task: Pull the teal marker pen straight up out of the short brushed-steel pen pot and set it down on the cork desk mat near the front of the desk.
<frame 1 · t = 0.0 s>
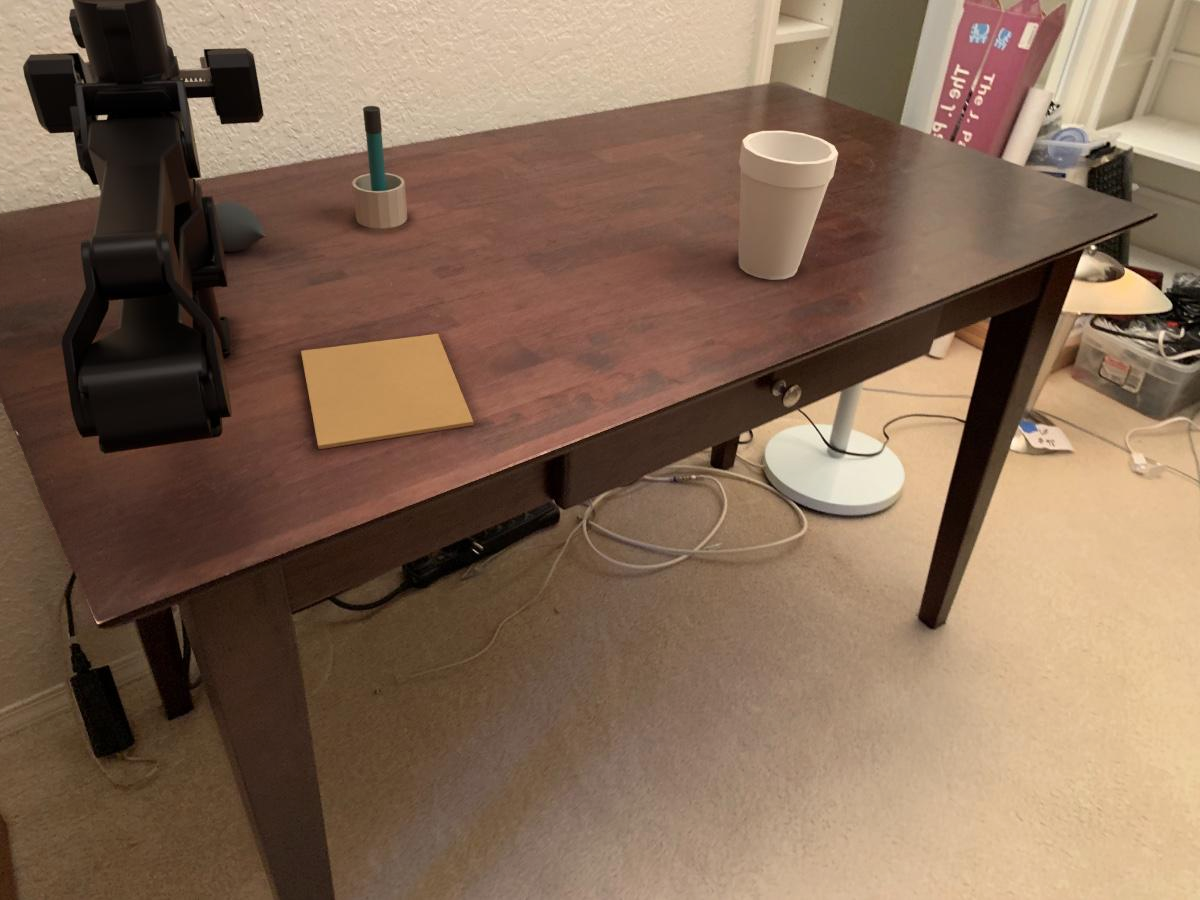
hand: (152, 64, 89), 17 cm above the table, tool horizontal, fingers open, 9 cm apart
foam cup: (767, 267, 99), on the table
pen: (381, 217, 102), resting on pot
dark grey fabric pouch: (190, 243, 96), on the table
pot: (382, 221, 102), on the table
desk mat: (383, 388, 76), on the table
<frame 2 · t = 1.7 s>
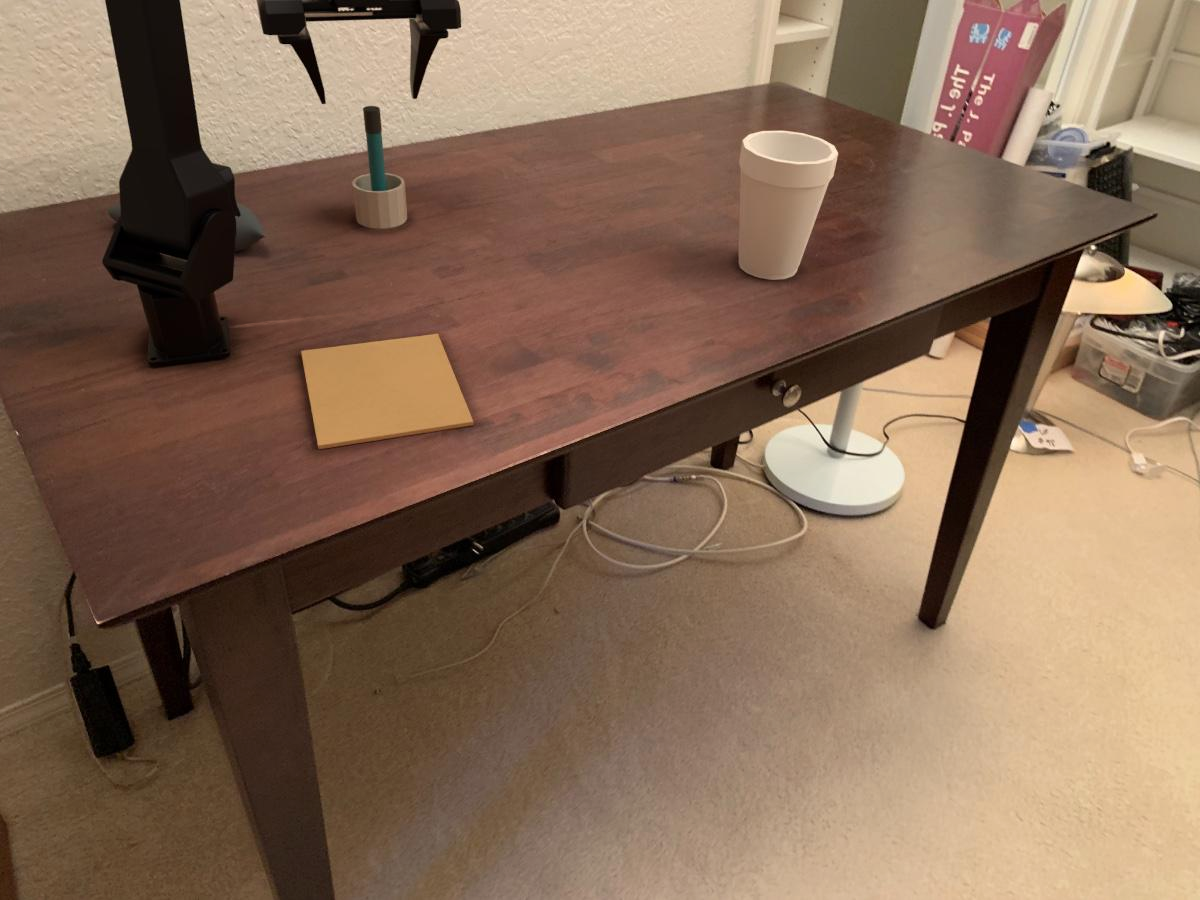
hand: (369, 100, 94), 13 cm above the table, tool pointing down, fingers open, 9 cm apart
nothing on the table moved.
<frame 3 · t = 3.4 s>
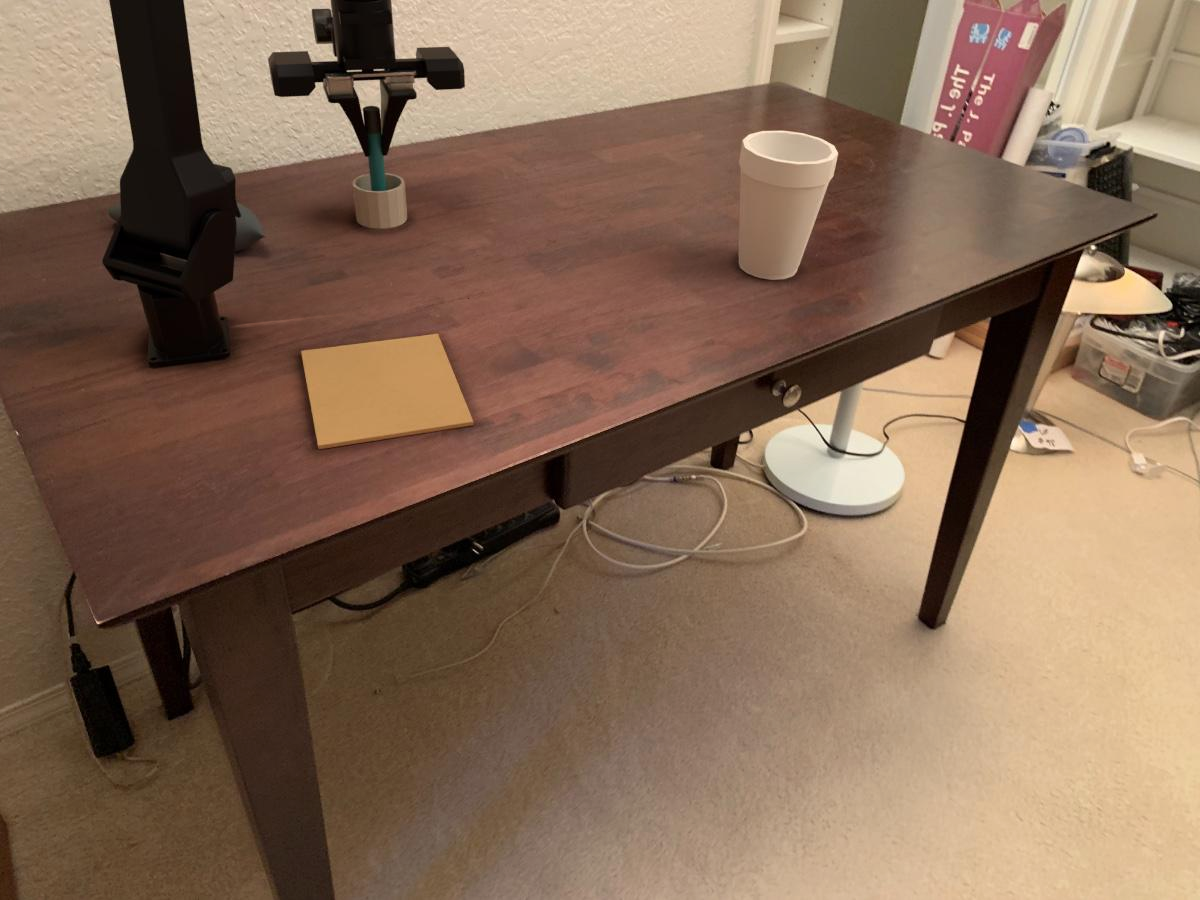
hand: (375, 154, 97), 8 cm above the table, tool pointing down, fingers closed on pen, 1 cm apart
pen: (381, 217, 102), resting on pot, touching gripper
everything else where it was.
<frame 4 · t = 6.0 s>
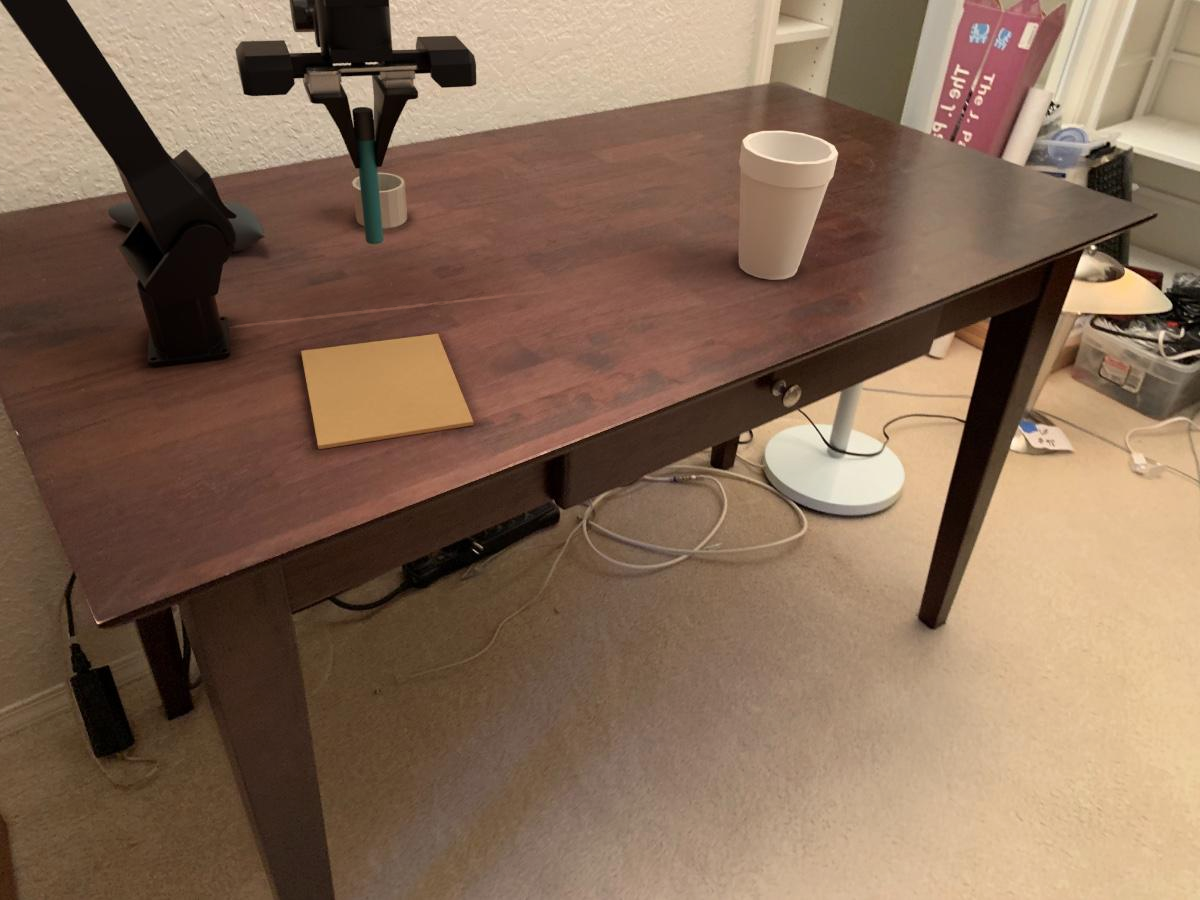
hand: (367, 166, 81), 13 cm above the table, tool pointing down, fingers closed on pen
pen: (374, 240, 85), point 6 cm above the table, touching gripper
everything else where it was.
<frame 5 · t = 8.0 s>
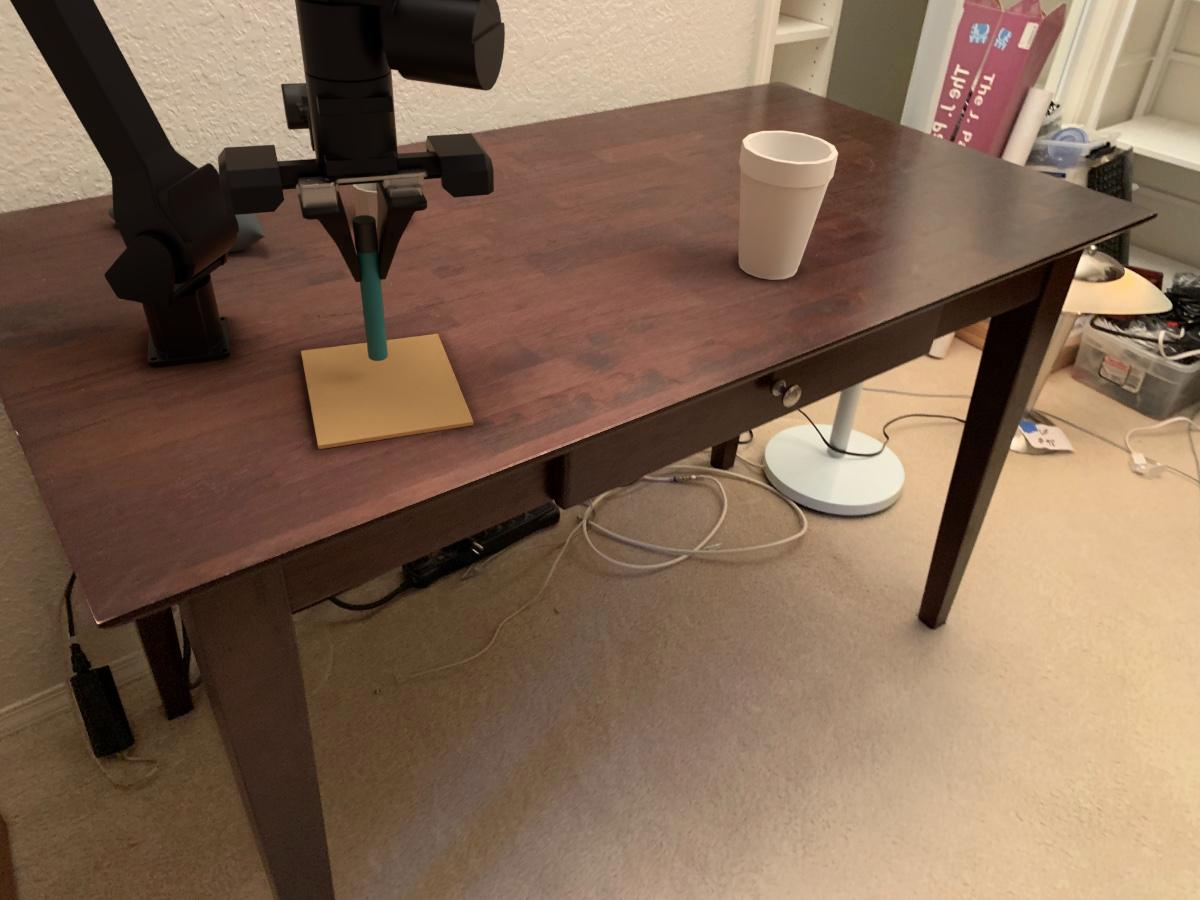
hand: (370, 278, 71), 10 cm above the table, tool pointing down, fingers closed on pen
pen: (378, 356, 76), point 3 cm above the table, touching gripper
everything else where it was.
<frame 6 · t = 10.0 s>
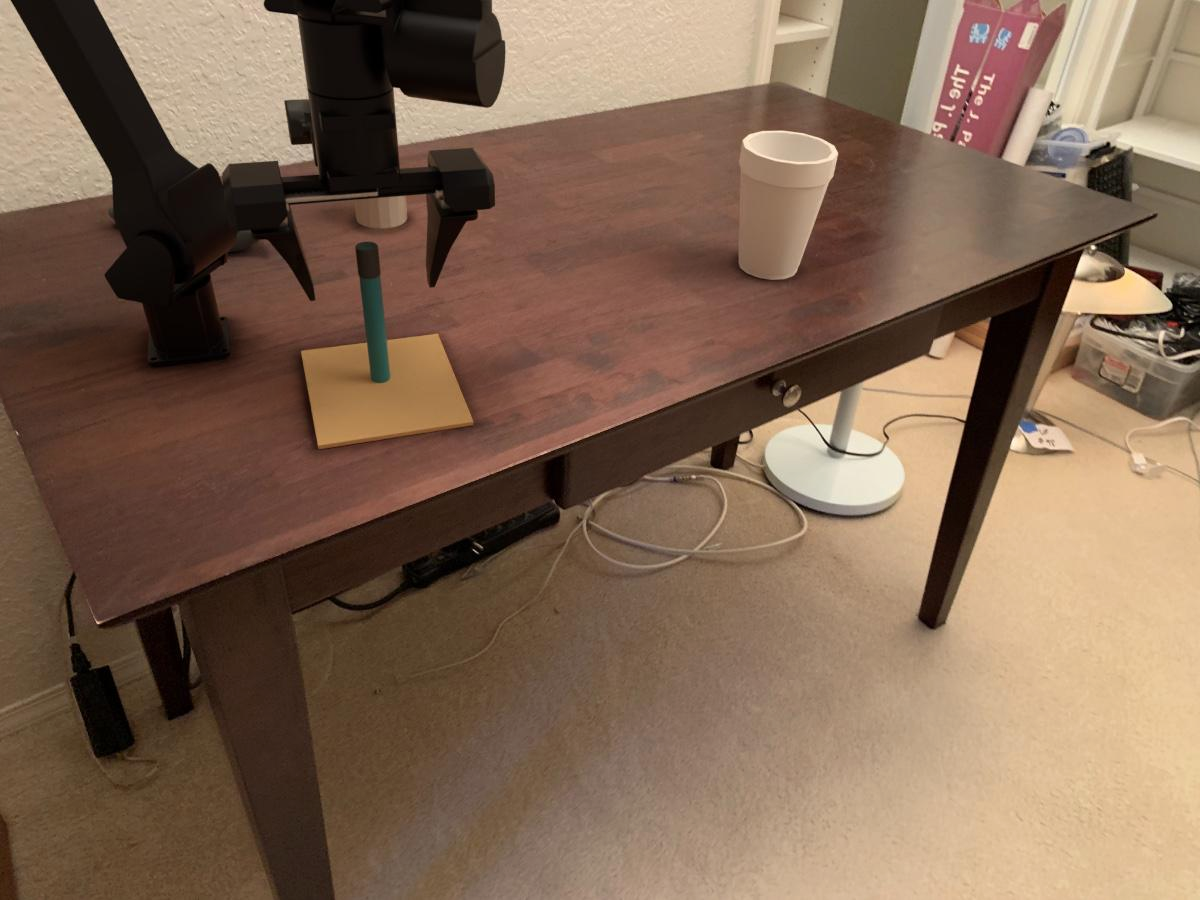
hand: (372, 291, 72), 9 cm above the table, tool pointing down, fingers open, 9 cm apart
pen: (380, 378, 77), resting on desk mat
everything else where it was.
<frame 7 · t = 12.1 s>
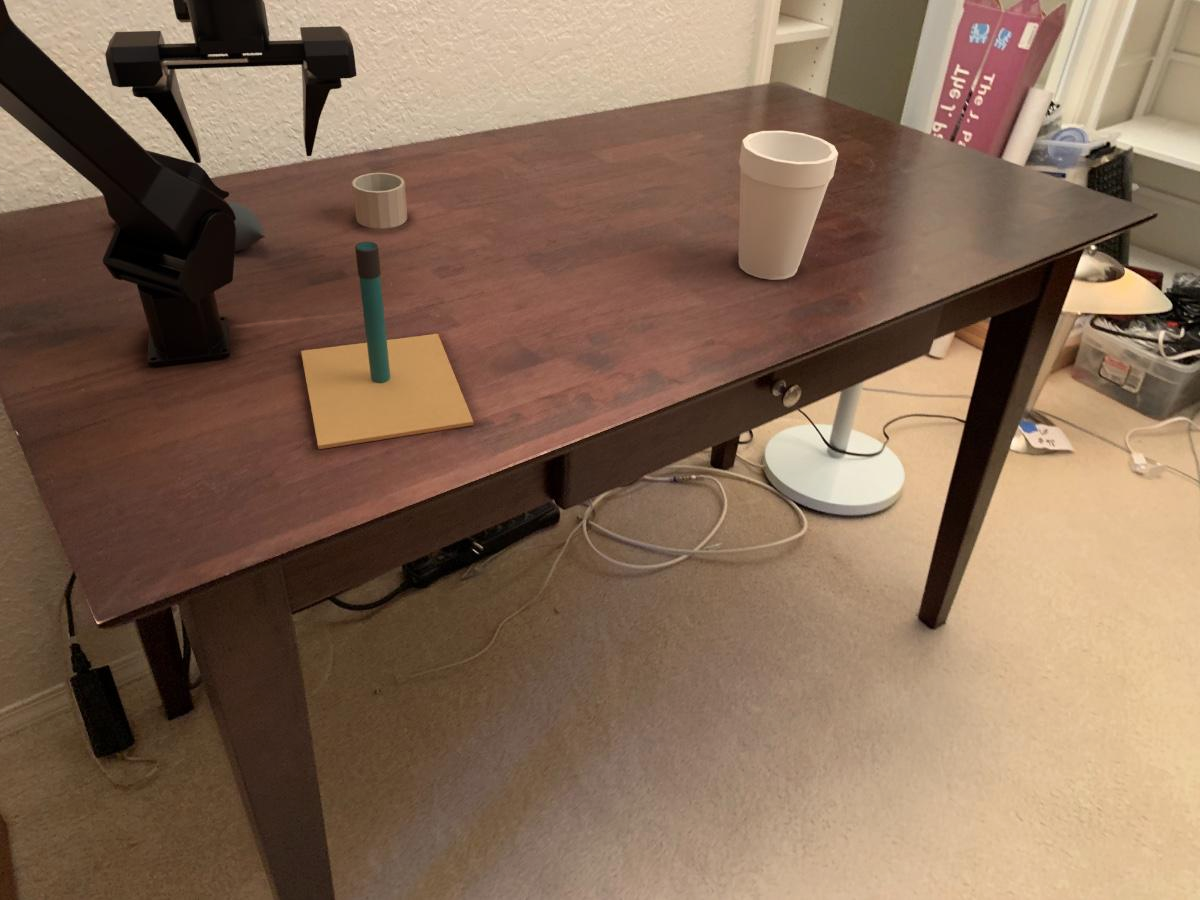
hand: (254, 158, 80), 13 cm above the table, tool pointing down, fingers open, 9 cm apart
nothing on the table moved.
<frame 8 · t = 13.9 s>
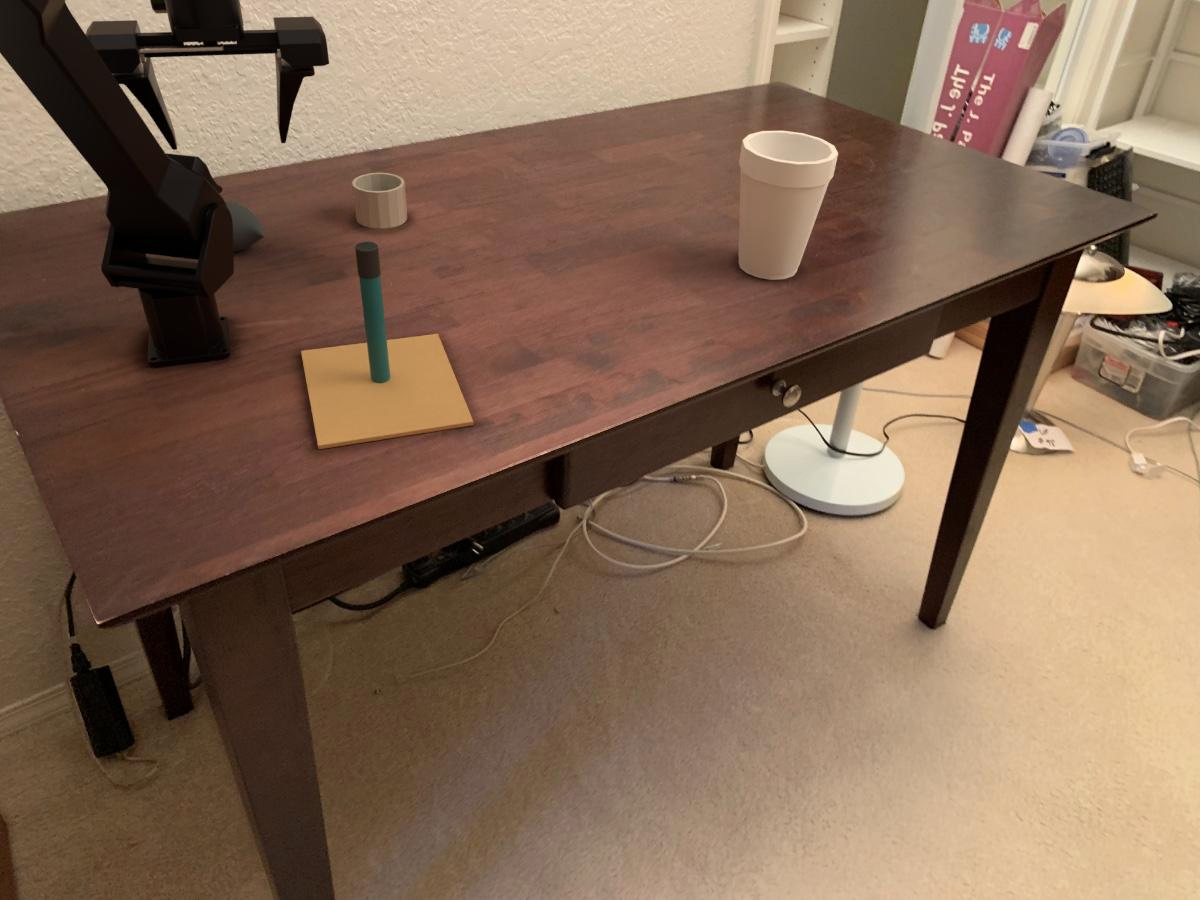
hand: (229, 145, 83), 13 cm above the table, tool pointing down, fingers open, 9 cm apart
nothing on the table moved.
at the end: pen inside the target area on the desk mat (1.0 cm from its centre), point 0.4 cm above the desk mat's base; the gripper is holding nothing; pen 1.0 cm from the desk mat (horizontally) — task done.
